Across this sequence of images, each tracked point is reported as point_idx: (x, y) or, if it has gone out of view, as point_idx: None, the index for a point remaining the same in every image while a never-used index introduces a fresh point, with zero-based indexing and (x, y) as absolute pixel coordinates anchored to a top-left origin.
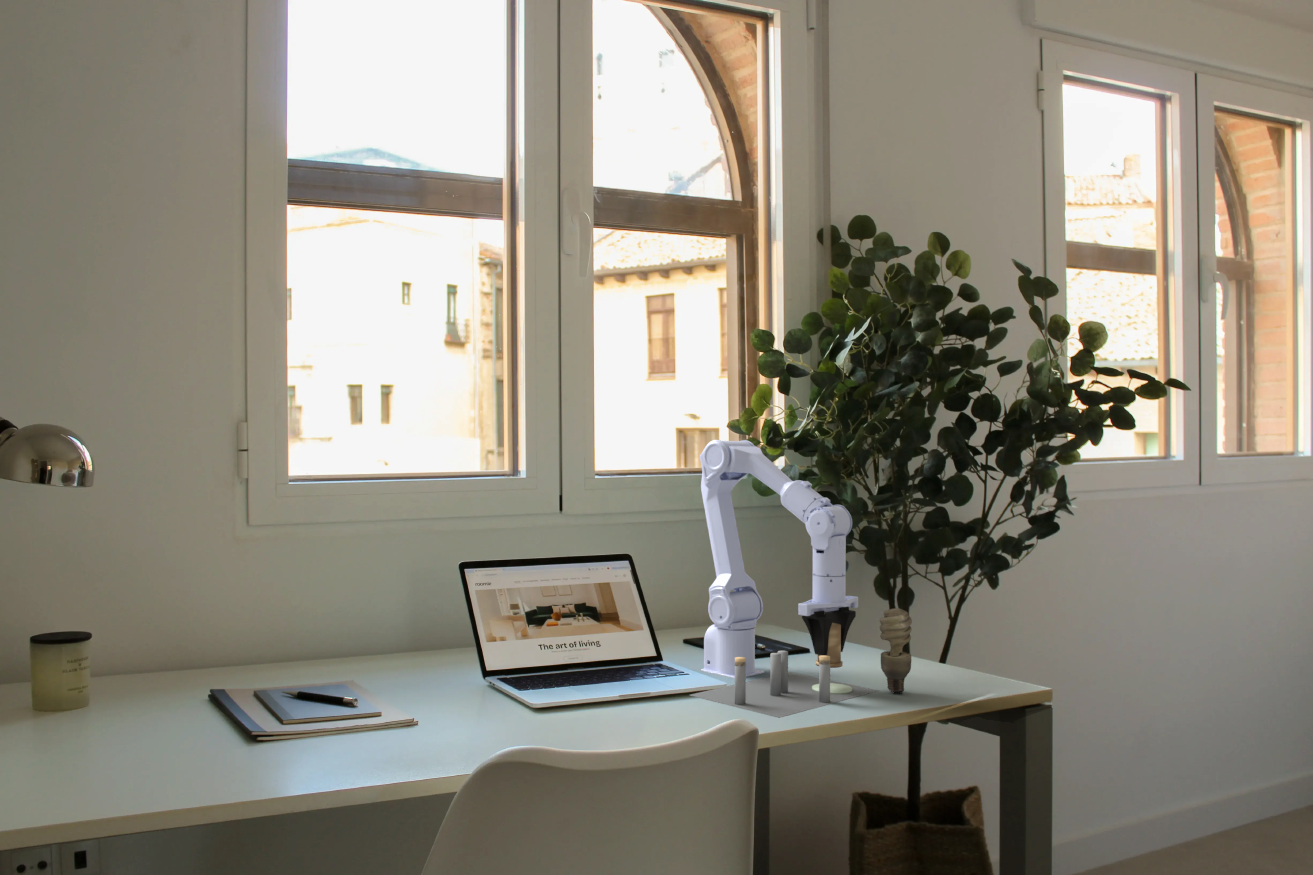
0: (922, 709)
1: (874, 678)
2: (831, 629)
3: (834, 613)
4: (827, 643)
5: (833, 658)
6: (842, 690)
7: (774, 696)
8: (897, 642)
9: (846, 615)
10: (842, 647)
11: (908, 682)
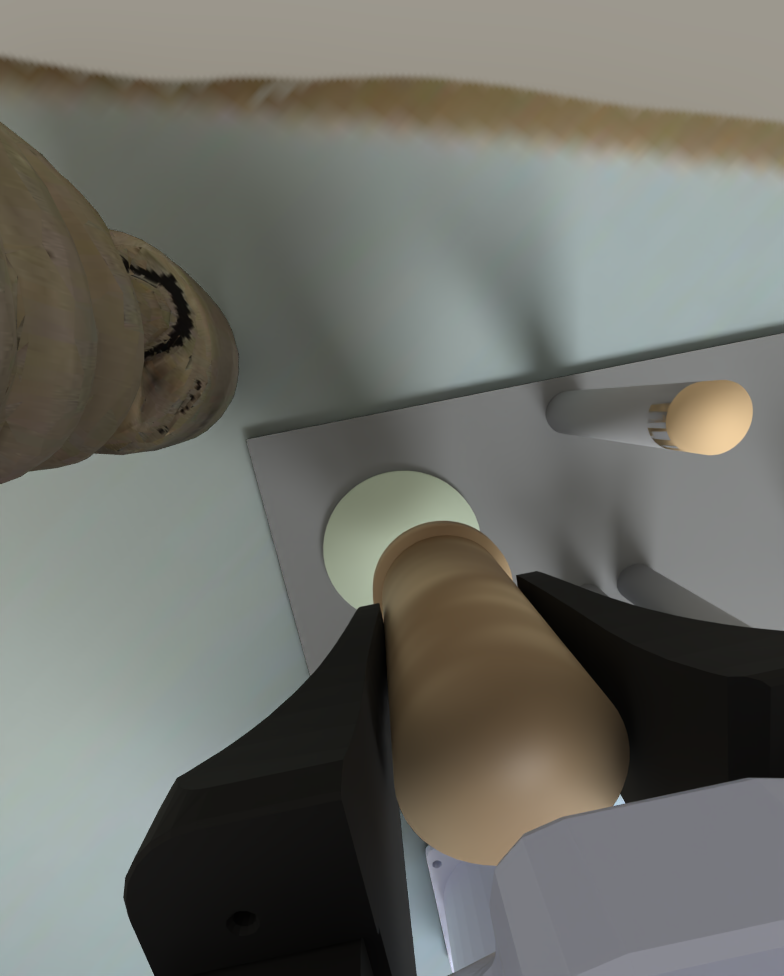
0: (286, 105)
1: (100, 630)
2: (566, 660)
3: (396, 956)
4: (559, 593)
5: (473, 549)
6: (400, 494)
7: (654, 566)
8: (82, 198)
9: (355, 792)
10: (368, 610)
11: (8, 512)
